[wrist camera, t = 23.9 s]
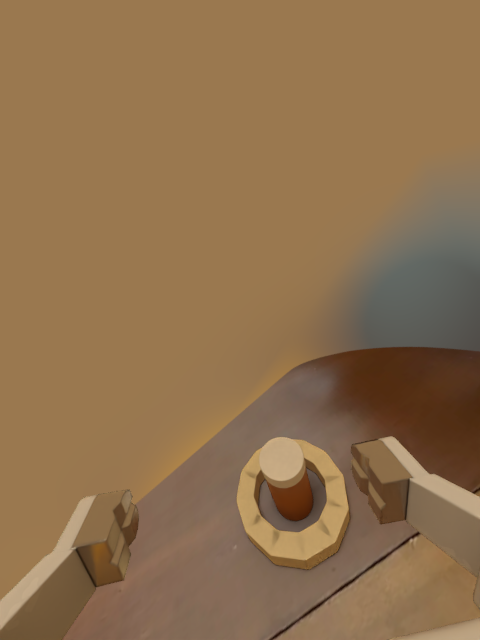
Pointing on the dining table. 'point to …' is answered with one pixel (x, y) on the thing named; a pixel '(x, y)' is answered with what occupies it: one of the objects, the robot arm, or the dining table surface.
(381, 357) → the dining table surface
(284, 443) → the amber bottle
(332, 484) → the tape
